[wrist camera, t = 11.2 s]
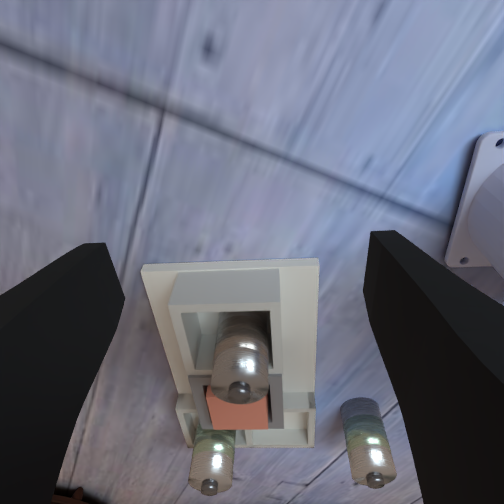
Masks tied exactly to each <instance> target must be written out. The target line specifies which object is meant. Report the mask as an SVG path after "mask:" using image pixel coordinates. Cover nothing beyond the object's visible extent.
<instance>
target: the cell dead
mask: <svg viewBox="0 0 504 504" xmlns="http://www.w3.org/2000/svg"><path fill="white" fill-rule="evenodd" d="M268 366H269V362H268V331H267V312H266V311H233V312H220V313H219V321H218V328H217V334H216V343H215V351H214V359H213V370H212V378H211V391H212V393H213V394H214V395H215V396H216V397H217V398H219V399H220V400H223V401H225V402H228V403H232V404H250V403H254V402H257V401H259V400H261V399H262V398H264V397H265V396H266V394H267V393H268V390H269V377H268Z"/></svg>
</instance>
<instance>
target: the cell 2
mask: <svg viewBox="0 0 504 504" xmlns="http://www.w3.org/2000/svg"><path fill="white" fill-rule="evenodd" d="M341 416H342V421H343V429H344V434H345V440H346V446H347V452H348V457H349V462H350V468H351V473H352V479H353V480H354V481H355V482H356V483H358V484H361V485H366V486H368V487H370V488H373V489H377V488H382V487H383V486H384V485H385V484H387V483H389V482H391V481H393V480H394V479H395V478H396V476H397V474H396V470H395V466H394V462H393V459H392V455H391V450H390V446H389V443H388V439H387V435H386V431H385V428H384V424H383V421H382V417H381V414H380V410H379V406H378V404H377V403H376V402H375V401H374V400H372V399H369V398H354V399H351V400H348V401H346V402H345V403H344V404H343V405H342V406H341Z"/></svg>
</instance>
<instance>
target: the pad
mask: <svg viewBox="0 0 504 504" xmlns="http://www.w3.org/2000/svg"><path fill="white" fill-rule="evenodd" d="M206 400H207V404H208V408H209V412H210V416H211V421H212V425H213V429H214V430H264V429H268V393H267V394H266V396H265V397H264V398H262V399H261V400H259V401H257V402H254V403H250V404H232V403H228V402H225V401H223V400H220V399H219V398H217V397H216V396H215V395H214V394H213V393H212V391H211V385H208V387H207V393H206Z"/></svg>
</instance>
